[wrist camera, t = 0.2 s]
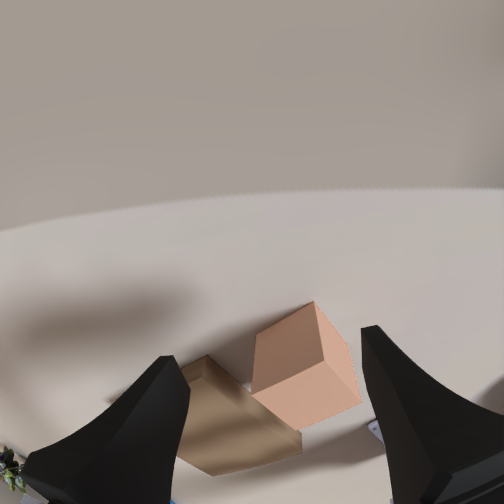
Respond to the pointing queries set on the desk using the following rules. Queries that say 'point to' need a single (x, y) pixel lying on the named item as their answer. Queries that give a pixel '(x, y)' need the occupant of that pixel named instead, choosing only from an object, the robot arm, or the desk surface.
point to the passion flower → (11, 471)
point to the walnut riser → (230, 424)
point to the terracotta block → (304, 369)
